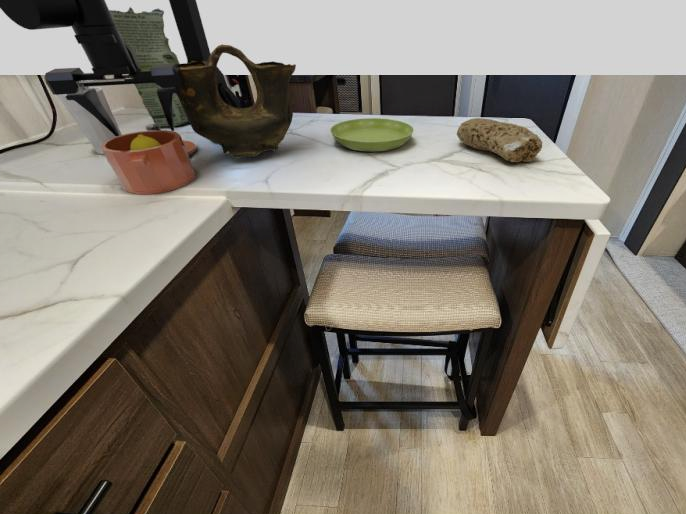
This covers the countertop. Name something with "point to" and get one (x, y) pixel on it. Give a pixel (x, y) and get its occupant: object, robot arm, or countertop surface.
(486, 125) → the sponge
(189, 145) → the lid
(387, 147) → the saucer
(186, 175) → the pot
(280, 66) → the pottery vessel
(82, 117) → the cup
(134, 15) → the pouch
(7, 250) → the countertop surface
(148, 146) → the lemon
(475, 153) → the countertop surface
